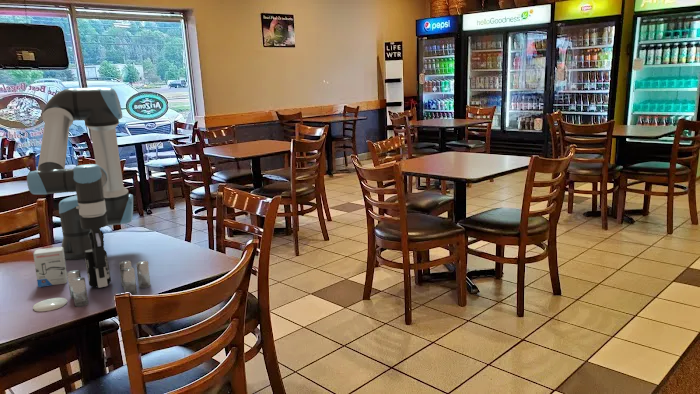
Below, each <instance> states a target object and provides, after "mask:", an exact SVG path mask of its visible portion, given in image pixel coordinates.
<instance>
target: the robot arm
mask: <svg viewBox="0 0 700 394" xmlns="http://www.w3.org/2000/svg"><path fill="white" fill-rule="evenodd" d="M41 118H42V121H43V123H44V124H43V125H44V126H43V132H42V133H43V134H42V139H41V145H40V150H39V151H40V153H39V158H38V166H37V170H31V171H29V172H28V174H27V176H26V182H27V183H26V184H27V189H28V190H29V192H30V193H31V194H32V195H50V194H51V195H52V194H53V195H54V194H64V193H74V192H75V193H76V195H73V196H72V195H71V196H69V197H66V198H63V199H62V200H60V201H59V203H58V214H59V219H60V226H61V230H62V231H61V232H62V242H61V246H60V247H63V248H64V256H65V260H82V259H85V257H84V255H85V253H86V252H85V251H86V250H89V249H92V252H93V258H94V260H93V261H94V263H95V267H94V269H96V276H97V283H98V287H97V288H98V289H99V288H103V287H108V286H109V284H107V276H106V269H105V267H106V262H105V254H104V250H105V240H104V232H103V231H102V230H101V229H102V228H105V227H107V226H116V225H117V226H118V225H120V226H121V225H125V224H129V223H131V222H132V220H133V215H134V195H133V194H131V193H129V190H128V188H126V187H125V186H124V180H123V175H122V174H123V173H122V167H121V159H120V152H119V145H118V137H117V131H116V127H118V125H119V124H120V120H121V119H123V112H122V105H121V101H120V100H119V96H118V93H117V92H116V90H115V89H114V88H112V87H103V86H102V87H100V86H99V87H98V86H97V87H80V88H79V87H78V88H77V87H76V88H74V87H73V88H66V89H63V90H60V91H59V92H57V93H56V94H54V95H53V96H52V97H51V98H50V99H49V100H47V102H46V104H45V106H44V107H43V111H42V117H41ZM75 121H84V126H85V127H86V128H88V129H89V130H90V134H91V135H90V136H91V143H92V146H93V147H92V149H93V155H94V160H95V161H94V162H95V163H89V164H80V165H76V166H74V167H73V168H65V167H66V160H67V151H68V141H69V134H70V127H72V125H73V124H74V122H75Z"/></svg>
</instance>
